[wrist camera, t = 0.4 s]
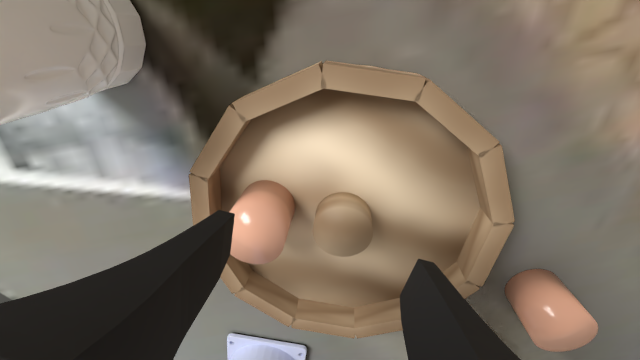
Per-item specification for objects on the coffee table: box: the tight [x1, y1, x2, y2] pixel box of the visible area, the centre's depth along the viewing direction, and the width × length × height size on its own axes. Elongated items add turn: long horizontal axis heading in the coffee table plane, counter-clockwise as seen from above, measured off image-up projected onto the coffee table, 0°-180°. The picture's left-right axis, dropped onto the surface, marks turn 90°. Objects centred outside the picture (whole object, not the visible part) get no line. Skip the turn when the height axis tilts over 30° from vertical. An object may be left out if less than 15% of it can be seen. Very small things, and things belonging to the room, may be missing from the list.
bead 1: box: [230, 180, 295, 264], centre depth 19 cm, size 4×4×4 cm
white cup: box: [0, 0, 146, 125], centre depth 13 cm, size 8×8×10 cm
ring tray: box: [189, 61, 515, 338], centre depth 20 cm, size 20×20×3 cm
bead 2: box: [505, 269, 598, 352], centre depth 22 cm, size 4×4×4 cm
